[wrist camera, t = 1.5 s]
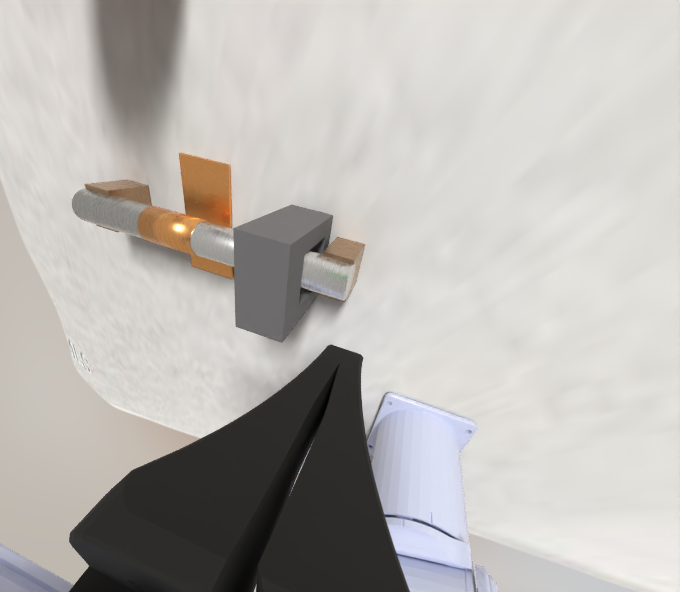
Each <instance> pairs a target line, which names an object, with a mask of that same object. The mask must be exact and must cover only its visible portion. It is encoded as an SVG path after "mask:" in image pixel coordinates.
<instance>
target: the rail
mask: <svg viewBox="0 0 680 592" xmlns="http://www.w3.org/2000/svg"><path fill="white" fill-rule="evenodd" d="M179 159H180V167H181V176H182V185H183V194H184V202H185V211H186V215H185V214H181V213H178V212H174V211H171V210H167V209H164V208H160V207H157V206H151V200H150V195H149V189H148V185H144V184H141V183H137V182H133V181H129V180H121V181H111V182H101V183H91V184H85V187H86V189H82V190H80V191H78V192H77V193H76V194H75V195H74V197H73V200H72V208H73V210H74V212H75V214H76V215H77V216H78V217H79V218H80V219H82V220H84V221H87V222H90V223H93V224H96V225H97V226H100V227H103V228H106V229H110V230H113V231H116V232H123V233H126V234H129V235H132V236H136V237H139V238H142V239H145V240H147V241H149V242H153V243H156V244H159V245H162V246H166V247H169V248H172V249H175V250H179V251H182V252H185V253H188V254H190V255H191V264H192V266H193V267H196V268H199V269H202V270H205V271H209V272H212V273H215V274H218V275H221V276H224V277H228V278H231V279H232V278H233V267H234V238H233V229H232V212H231V177H230V165H229V164H225V163H221V162H216V161H212V160H208V159H204V158H200V157H196V156H192V155H188V154H184V153H179ZM364 247H365V244H361V243H358V242H354V241H350V240H347V239H343V238H339V237H338V238H337V239H335V240H334V241H333V242H332V243H331V244H330V245H329V246H328V247H327V248H326V249H325V250H324V251H323V254H319V253H316V252H312V251H308V252H307V253H306V254H305V255H304V263H303V272H302V280H301V288H304V289H308V290H311V291H314V292H317V294H320V295H323V296H327V297H330V298H333V299H336V300H339V301H343V302H346V300H347V298H348V296H349V294H350V292H351V291H352V289H353V287H354V285H355V283H356V281H357V277H358V272H359V268H360V264H361V260H362V256H363V251H364Z"/></svg>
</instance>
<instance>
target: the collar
mask: <svg viewBox="0 0 680 592" xmlns="http://www.w3.org/2000/svg"><path fill="white" fill-rule="evenodd" d="M332 219H333V215H329V214H325V213H322V212H318V211H314V210H310V209H306V208H302V207H299V206H295V205H290V206H287V207H285V208H283V209H280V210H278V211H275V212H273V213H270V214H268V215H265V216H263V217H260V218H258V219H255V220H253V221H250V222H248V223H246V224H243V225H241V226H238V227H236V228H233V238H234V277H235V317H236V327H238V328H241V329H244V330H247V331H250V332H253V333H256V334H259V335H261V336H264V337H267V338H270V339H273V340H276V341H279V342H283V341H284V339H285V338H286V337H287V335H288V334H289V333H290V331H291V330H292V329H293V327H294V326H295V325H296V323H297V322H298V321H299V320H300V318H301V317H302V316H303V314H304V313H305V312H306V310H307V309H308V308H309V306H310V305H311V304H312V302H313V301H314V300H315V298H316V297H317V296H318V294H317V292H314V291H311V290H308V289H304V288H301V280H302V272H303V263H304V255H305V254H306V253H307V252H308V251H312V252H316V253H319V254H323V251H324V250H325V249H326V248H327V247H328V243H329V237H330V231H331V225H332Z"/></svg>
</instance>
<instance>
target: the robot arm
mask: <svg viewBox="0 0 680 592" xmlns="http://www.w3.org/2000/svg"><path fill="white" fill-rule="evenodd" d="M362 361H363V357H362V355H361V354H358V353H355V352H352V351H349V350H346V349H343V348H340V347H337V346H334V345H329V346H327V348H326V349H325V350H324V351H323V352H322V353H321V354H320V355H319V356H318V357H317V358H316V359H315V360H314V361H313V362H312V363H311V364H310V365H309V366H308V367H307V368H306V369H305V370H304V371H302V372H301V373H300V374H299V375H298V376H297V377H296V378H295V379H293V380H292V381H291V382H290V383H288V384H287V385H286V386H284V387H283V388H282V389H281V390H279V391H278V392H277V393H276V394H274V395H273V396H271V397H270V398H269V399H267V400H266V401H264V402H263V403H261V404H260V405H258V406H257V407H255V408H254V409H252V410H251V411H249V412H248V413H246V414H244V415H243V416H241V417H239V418H238V419H236V420H234V421H233V422H231V423H229V424H228V425H226V426H224V427H222V428H220V429H219V430H217V431H215V432H213V433H211V434H209V435H207V436H205V437H203V438H201V439H199V440H197V441H195V442H193V443H192V444H190V445H188V446H185V447H183V448H181V449H179V450H177V451H175V452H173V453H170V454H168V455H166V456H163V457H161V458H159V459H157V460H154V461H152V462H150V463H147V464H145V465H143V466H141V467H138V468H136V469H134V470H132V471H131V472H130V473H129V474H128V475H126V476H125V477H124V478H123V479H122V480H121V481H120V482H119V483H118V484H117V485H115V486H114V487H113V488H112V489H111V490H110V491H109V492H108V493H107V494H106V495H105V496H104V497H103V498H102V499H101V500H100V501H99V502H98V504H97V505H96V506H95V507H94V508H93V509H92V510H91V511H90V512H89V513H88V514H87V515H86V516H85V517H84V519H83V520H82V521H81V522H80V523H79V524H78V525H77V526H76V527H75V528H74V529H73V530H72V531H71V533H70V538H69V542H70V544H71V545H72V547H73V548H74V549H75V550H76V551H77V552H78V553H79V555H80V556H81V557H82V558H83V559H84V560H85V561H86V563H88V565H89V567H88V569H87V570H86V571H85V572H84V573H83V575H82V576H81V577H80V578H79V580H78V581H77V582H76V583H75V585H73V584H71V583H69V582H67V581H66V580H64V579H62V578H60V577H59V576H57V575H55V574H53V573H52V572H50V571H48V570H46V569H44V568H43V567H41V566H39V565H37V564H36V563H33V562H32V561H30V560H28V559H27V558H25V557H23V556H21V555H20V554H18V553H16V552H14V551H13V550H11V549H9V548H7V547H5V546H4V545H2V544H0V592H254V589H255V586H256V584H257V587H256V592H476V584H475V576H474V569H473V562H472V556H471V549H470V544H469V537H468V527H467V517H466V508H465V498H464V488H463V479H462V469H461V459H460V452H461V451H462V449H463V448H464V447H465V445H466V444H467V442H468V441H469V440H470V438H471V437H472V436H473V434H474V433H475V432H476V430H477V425H476V423H475V422H473V421H470V420H467V419H465V418H462V417H459V416H456V415H453V414H450V413H448V412H445V411H442V410H439V409H436V408H433V407H431V406H428V405H425V404H422V403H419V402H416V401H414V400H411V399H408V398H405V397H402V396H399V395H397V394H394V393H387V394H386V395H385V398H384V400H383V403H382V405H381V408H380V410H379V413H378V415H377V418H376V420H375V423H374V425H373V428H372V430H371V433H370V435H369V438H368V440H366V434H365V427H364V420H363V411H362V398H361V367H362ZM388 401H390V402H388ZM314 438H315V439H314ZM313 440H314V441H313ZM312 442H313V443H312ZM311 445H312V446H311ZM310 447H311V448H310ZM309 449H310V450H309ZM308 451H309V453H308ZM307 453H308V455H307ZM306 455H307V457H306ZM369 455H370V456H373V458H372V464H371V461H370V456H369ZM305 457H306V460H305V462H304V464H303V467H302V469H301V471H300V473H299V476H298V478H297V480H296V483H295V485H294V482H295V479H296V477H297V475H298V472H299V470H300V468H301V465H302V463H303V461H304V459H305ZM293 485H294V487H293ZM292 487H293V489H292ZM291 490H292V491H291ZM290 493H291V494H290ZM289 495H290V496H289ZM476 577H477V587H478V588H477V592H499V591H498V586H497V583H496V582H495V581H494V580H493V578H492V577H491V576H490V575H488V572H487V569H486V568H485V567H483V566H478V565H476Z"/></svg>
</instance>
